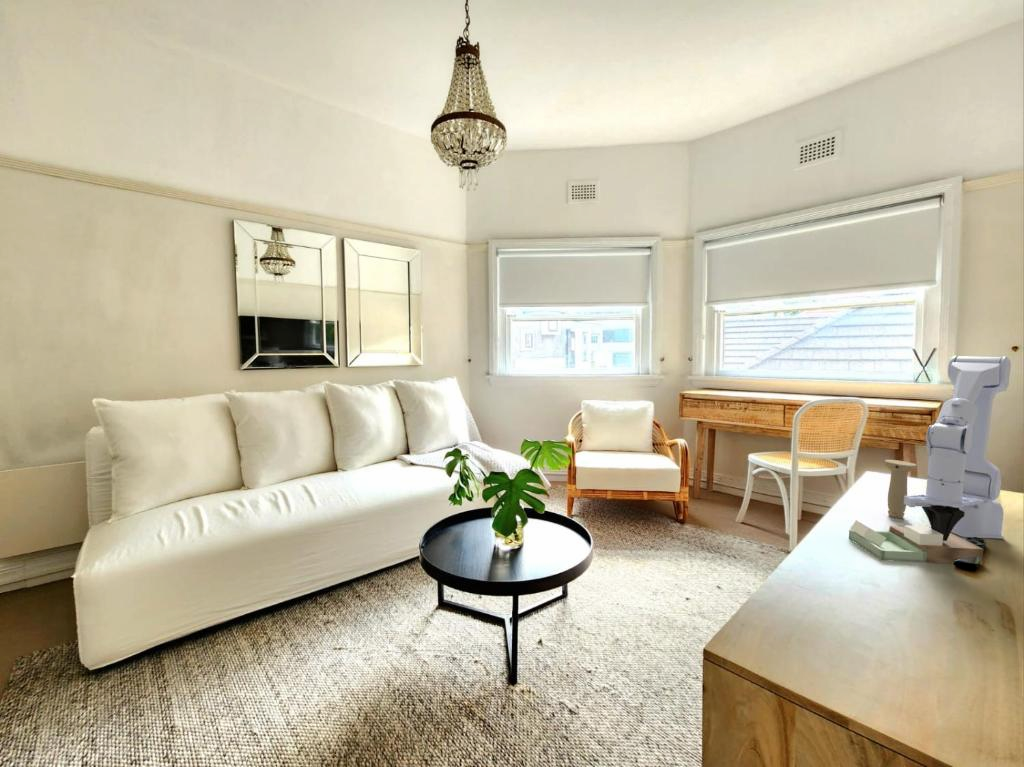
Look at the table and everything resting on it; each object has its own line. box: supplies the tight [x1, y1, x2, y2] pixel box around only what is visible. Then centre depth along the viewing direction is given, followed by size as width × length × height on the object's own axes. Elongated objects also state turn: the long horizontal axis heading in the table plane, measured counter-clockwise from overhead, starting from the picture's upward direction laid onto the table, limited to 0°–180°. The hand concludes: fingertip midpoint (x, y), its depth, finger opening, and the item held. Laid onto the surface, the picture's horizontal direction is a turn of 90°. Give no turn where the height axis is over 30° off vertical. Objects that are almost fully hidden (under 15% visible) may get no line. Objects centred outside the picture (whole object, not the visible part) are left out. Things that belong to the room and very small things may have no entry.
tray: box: [848, 529, 927, 563], centre depth 103 cm, size 9×11×2 cm
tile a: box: [849, 520, 886, 547], centre depth 106 cm, size 4×4×2 cm
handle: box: [884, 459, 917, 519], centre depth 122 cm, size 5×6×15 cm
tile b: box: [904, 525, 943, 546], centre depth 100 cm, size 4×4×2 cm
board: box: [889, 525, 984, 566], centre depth 102 cm, size 11×11×4 cm
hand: (939, 538), depth 99 cm, fingers closed
